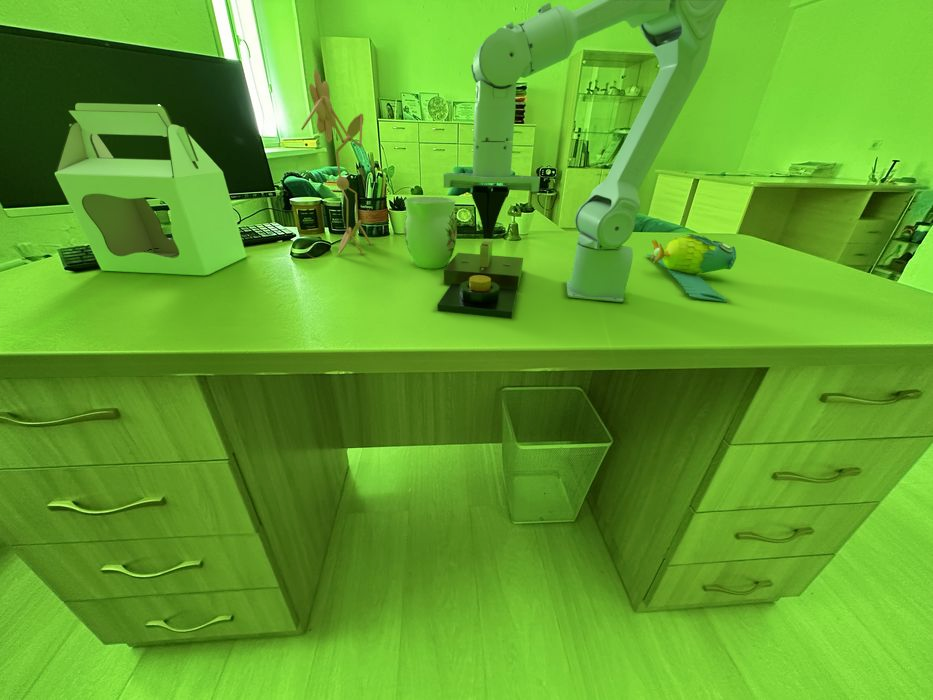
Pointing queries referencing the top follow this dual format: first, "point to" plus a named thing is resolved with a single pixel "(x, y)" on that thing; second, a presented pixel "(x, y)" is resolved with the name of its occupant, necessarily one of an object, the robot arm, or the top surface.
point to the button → (480, 283)
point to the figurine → (324, 124)
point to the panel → (484, 270)
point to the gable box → (147, 195)
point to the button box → (479, 300)
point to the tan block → (486, 252)
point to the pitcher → (430, 230)
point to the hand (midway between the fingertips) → (488, 237)
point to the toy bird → (695, 262)
